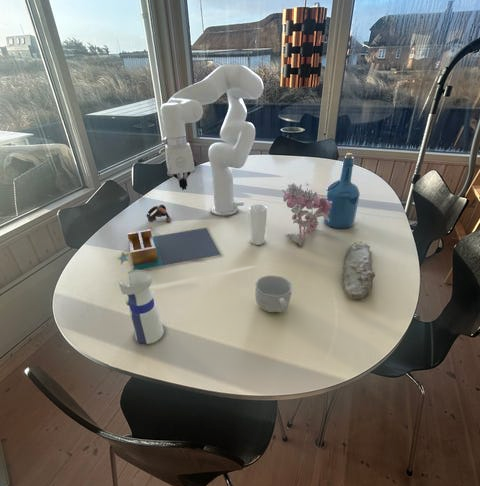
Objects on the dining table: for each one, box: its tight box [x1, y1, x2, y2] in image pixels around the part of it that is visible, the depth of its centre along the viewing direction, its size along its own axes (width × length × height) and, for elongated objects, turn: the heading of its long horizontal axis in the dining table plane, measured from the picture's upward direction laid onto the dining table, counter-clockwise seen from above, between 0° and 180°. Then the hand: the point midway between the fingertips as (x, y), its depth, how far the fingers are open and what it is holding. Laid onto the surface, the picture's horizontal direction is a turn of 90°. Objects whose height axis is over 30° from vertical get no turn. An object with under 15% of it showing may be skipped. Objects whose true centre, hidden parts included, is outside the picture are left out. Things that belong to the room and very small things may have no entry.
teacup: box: [254, 275, 293, 313], centre depth 95 cm, size 14×11×8 cm
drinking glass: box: [248, 204, 268, 246], centre depth 127 cm, size 7×7×15 cm
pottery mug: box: [145, 204, 171, 223], centre depth 149 cm, size 12×10×8 cm
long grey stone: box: [342, 241, 376, 300], centre depth 111 cm, size 35×5×10 cm
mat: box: [133, 227, 221, 270], centre depth 129 cm, size 32×24×1 cm
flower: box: [281, 182, 332, 247], centre depth 130 cm, size 20×22×25 cm
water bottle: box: [117, 251, 165, 345], centre depth 83 cm, size 8×9×25 cm
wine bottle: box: [323, 152, 361, 229], centre depth 136 cm, size 14×13×30 cm
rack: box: [127, 229, 158, 266], centre depth 124 cm, size 9×16×6 cm, turn 20°
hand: (183, 188), depth 129 cm, fingers closed
